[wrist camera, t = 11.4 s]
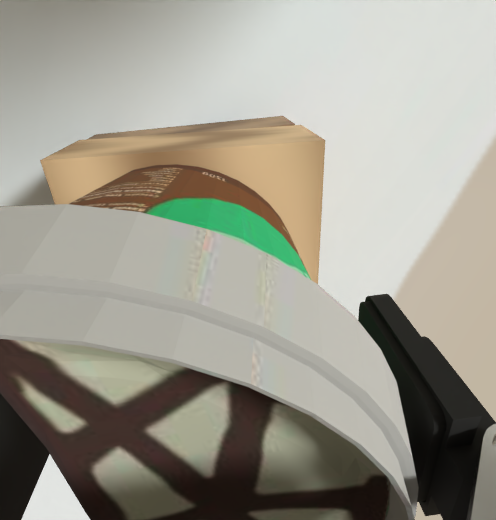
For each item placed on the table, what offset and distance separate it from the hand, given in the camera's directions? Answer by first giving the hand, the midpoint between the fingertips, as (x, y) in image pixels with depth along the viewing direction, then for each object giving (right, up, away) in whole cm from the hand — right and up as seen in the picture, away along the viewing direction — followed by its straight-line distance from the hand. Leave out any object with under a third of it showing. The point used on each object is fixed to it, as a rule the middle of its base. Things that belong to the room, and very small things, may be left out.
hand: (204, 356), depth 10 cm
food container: (+1, +3, +5) cm, 5 cm away
